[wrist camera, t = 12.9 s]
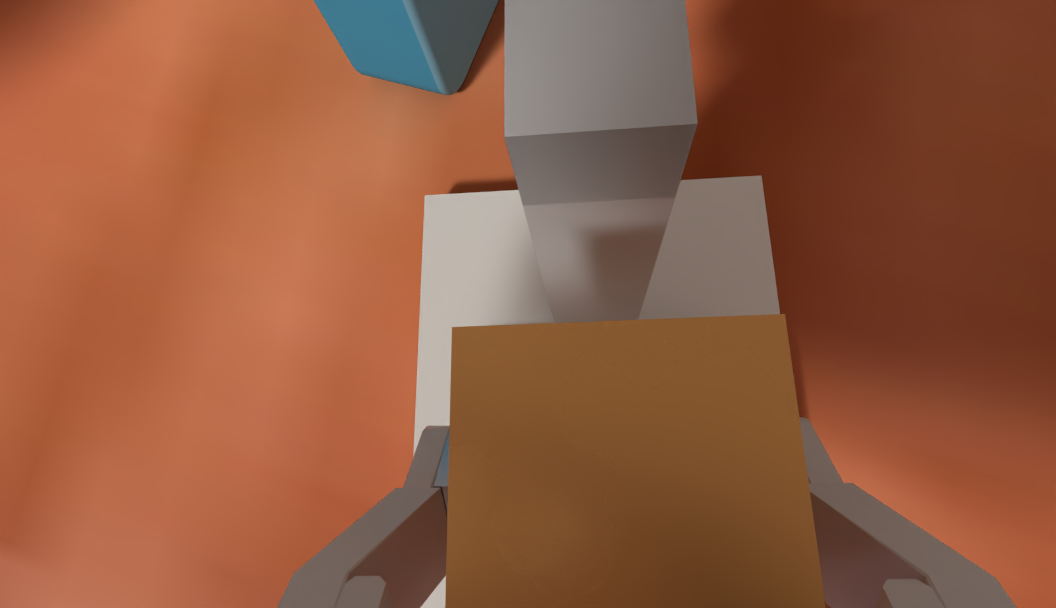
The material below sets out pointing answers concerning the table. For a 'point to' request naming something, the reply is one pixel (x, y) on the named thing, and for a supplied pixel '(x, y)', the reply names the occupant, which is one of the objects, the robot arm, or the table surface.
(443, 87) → the data package
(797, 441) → the wooden square pillar
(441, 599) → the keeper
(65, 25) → the table surface
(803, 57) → the table surface
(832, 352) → the table surface
